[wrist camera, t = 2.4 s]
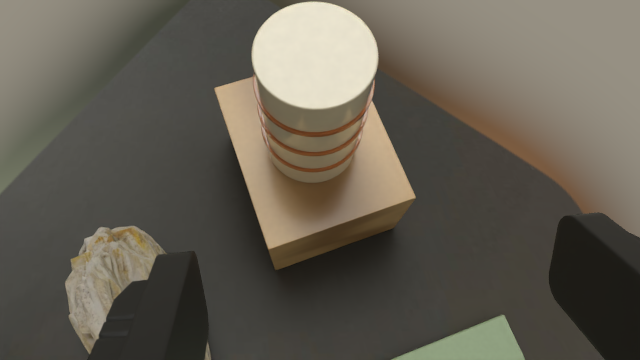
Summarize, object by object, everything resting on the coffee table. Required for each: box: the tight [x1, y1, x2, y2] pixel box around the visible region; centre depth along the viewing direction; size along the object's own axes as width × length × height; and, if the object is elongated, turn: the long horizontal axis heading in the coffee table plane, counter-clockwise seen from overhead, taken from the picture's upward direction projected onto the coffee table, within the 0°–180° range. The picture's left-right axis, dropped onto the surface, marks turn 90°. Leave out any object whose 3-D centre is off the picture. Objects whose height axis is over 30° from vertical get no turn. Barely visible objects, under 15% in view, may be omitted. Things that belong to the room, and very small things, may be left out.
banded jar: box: [251, 2, 379, 183], centre depth 27 cm, size 6×6×10 cm
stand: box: [214, 77, 416, 270], centre depth 36 cm, size 10×12×8 cm
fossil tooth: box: [65, 226, 212, 360], centre depth 30 cm, size 12×6×15 cm
